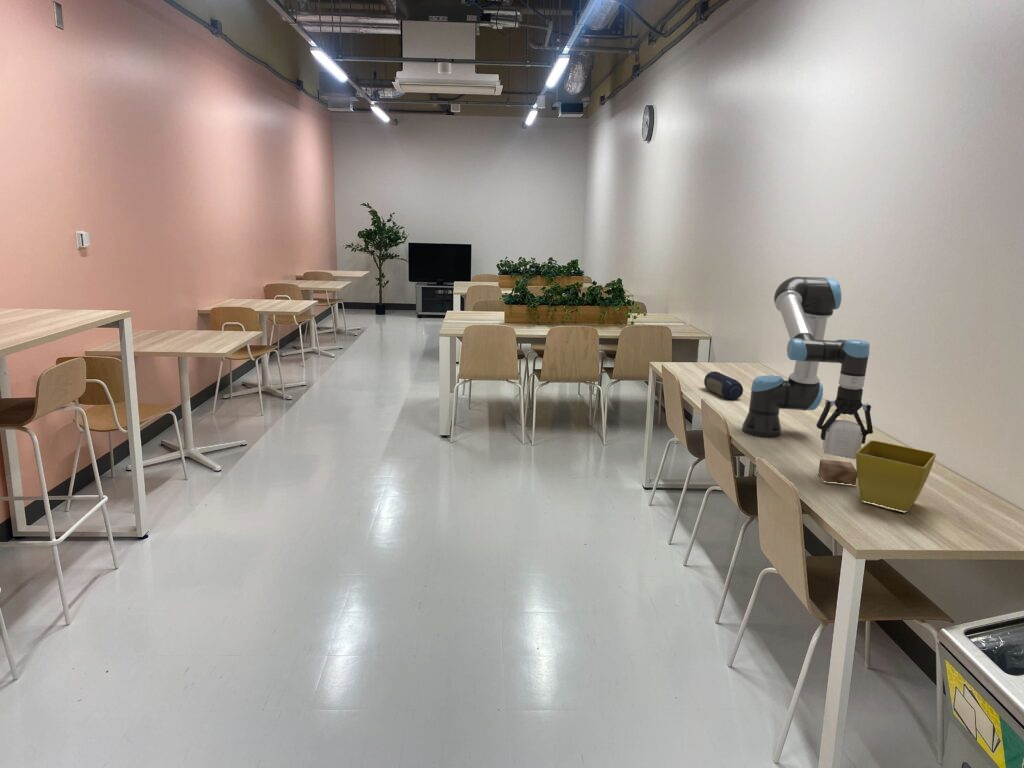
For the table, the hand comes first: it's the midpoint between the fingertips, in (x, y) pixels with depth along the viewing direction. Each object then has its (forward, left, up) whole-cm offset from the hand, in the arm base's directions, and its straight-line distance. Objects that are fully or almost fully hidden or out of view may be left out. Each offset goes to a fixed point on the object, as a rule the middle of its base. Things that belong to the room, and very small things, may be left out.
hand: (840, 450), depth 241 cm
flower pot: (+12, -17, -11) cm, 23 cm away
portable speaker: (-33, +108, -11) cm, 114 cm away
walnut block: (0, 0, -10) cm, 10 cm away
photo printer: (0, 0, -2) cm, 2 cm away
